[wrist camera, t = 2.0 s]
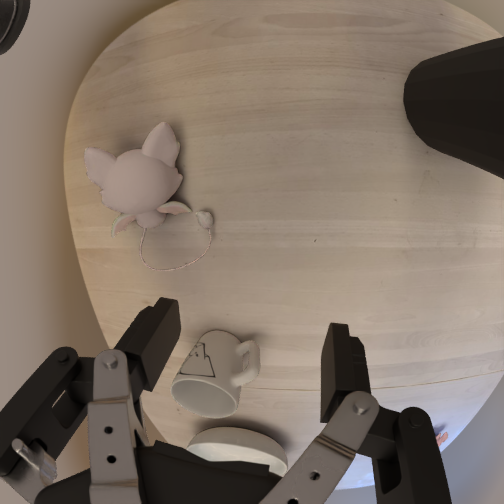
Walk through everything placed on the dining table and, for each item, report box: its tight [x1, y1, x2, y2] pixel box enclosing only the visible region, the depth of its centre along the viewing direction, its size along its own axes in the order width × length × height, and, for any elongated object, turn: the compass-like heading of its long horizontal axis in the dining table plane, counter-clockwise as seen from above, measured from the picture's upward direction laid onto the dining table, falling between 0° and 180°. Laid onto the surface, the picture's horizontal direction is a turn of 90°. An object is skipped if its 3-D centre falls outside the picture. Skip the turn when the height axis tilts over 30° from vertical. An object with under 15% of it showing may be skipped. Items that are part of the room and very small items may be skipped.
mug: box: [171, 330, 260, 418], centre depth 36 cm, size 12×8×10 cm
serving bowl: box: [186, 427, 288, 476], centre depth 51 cm, size 21×21×7 cm
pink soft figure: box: [436, 432, 448, 447], centre depth 45 cm, size 6×6×15 cm
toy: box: [84, 122, 213, 271], centre depth 29 cm, size 12×8×15 cm
